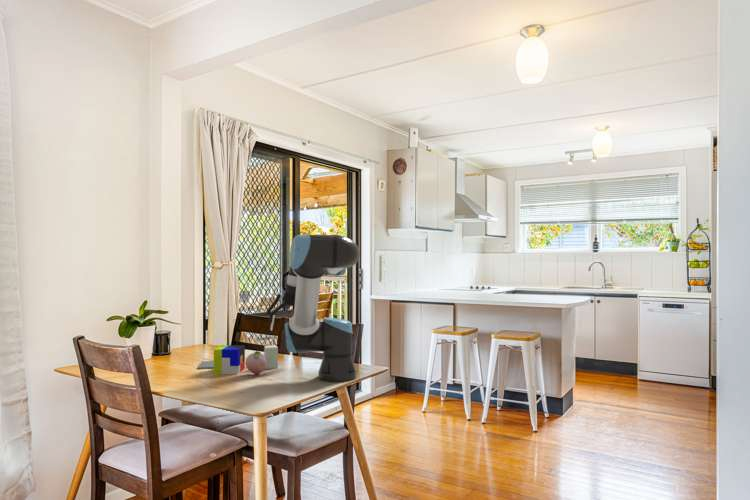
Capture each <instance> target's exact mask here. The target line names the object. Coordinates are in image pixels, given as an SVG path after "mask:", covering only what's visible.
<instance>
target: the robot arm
mask: <svg viewBox="0 0 750 500" xmlns="http://www.w3.org/2000/svg"><path fill="white" fill-rule="evenodd" d="M360 256H361V255H360V248H359V246H358V245H357V244H356V243H355V241H353V240H352V239H351V238H349V237H347V236H344V235H340V234H309V233H305V234H296V235H295V236H294V237H293V239H292V241H291V245H290V249H289V269H288V270H289V271H288V273H287V274H288V275H287V280H286V283H287V284H286V285H285V290H284V291H285V292H284V294H281V293H280V292H278V293H277V294H276V297H275V298H274V300H273V301H272V303H271V304H270V306H269V307H267V310H266V314H268V315H269V322H268V323H270V328H269V329H270V331H271V332H273V328H274V323H275V317H276V316H275V315H276V314H277V313H278V312H279V311H280V310H281V309H282V308H284V307H285V306H286V305H287V306H288V307H294V309H293V310H294V311H293V315H292V316H291V318H290V319H289V322H285V324H284V331H285V333H284V334H285V341H286V349H287V351H288V352H289V353H295V354H299V353H317V352H322V359H321V362H320V363H321V364H320V366H319V369H318V376H317V377H318V379H320V380H321V381H325V382H326V381H327V382H346V381H352V380H355V379H356V378H357V369H356V366H355V363H354V360H353V334H354V332H353V324H352V322H351V321H349V320H346V319H342V318H338V317H337V318H336V317H324V318H323V319H322V321H320V320H319V318H317V315H318V308H319V307H318V306H319V299H320V298H319V297H320V291H321V283H322V282H321V281H322V277H324V276H326V277H327V276H331V277H333V276H334V277H339V276H344V275H345V274H346V270H347V269H349V268H352V267H353V266H355V265H356V264H357V263H358V262H359V259H360ZM282 298H283V301H282V302H281V303H280V304H279V305H278V306H276V305H277V304H278V302H279V301H280V300H281V299H282Z"/></svg>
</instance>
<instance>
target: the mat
mask: <svg viewBox="0 0 750 500" xmlns="http://www.w3.org/2000/svg"><path fill="white" fill-rule="evenodd" d="M197 369H198V370H208V369H214V360H207V361H206V360H205V361H204V360H202V361H201V362H200V364H199V365H198V367H197Z"/></svg>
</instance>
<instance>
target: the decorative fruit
mask: <svg viewBox="0 0 750 500" xmlns="http://www.w3.org/2000/svg"><path fill="white" fill-rule="evenodd" d="M266 363H267V361H266V358H265V356H264V353H261V352H260V351H258V349H257V350H256V351H254V352H253V353H250V354H249V355H247V357H246V358H245V368H246V369H247V370H248V371H249V372H250V373H252V374H255V375H256V376H257V375H260V374H261V373H263V371H264V370H266V368H265V367H266Z"/></svg>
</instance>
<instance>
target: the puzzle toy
mask: <svg viewBox="0 0 750 500" xmlns="http://www.w3.org/2000/svg"><path fill="white" fill-rule="evenodd" d="M245 355H246V345H245V344H244V345H240V344H239V345H237V344H236V345H235V344H234V345H233V344H229V345H228V344H226V345H225V344H221V345H219V346H218V347H216V348H214V349H213V361H214V368H213V374H214V375H239V374H240V373H241V372H242V371H244V370H245V368H246V356H245Z"/></svg>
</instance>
